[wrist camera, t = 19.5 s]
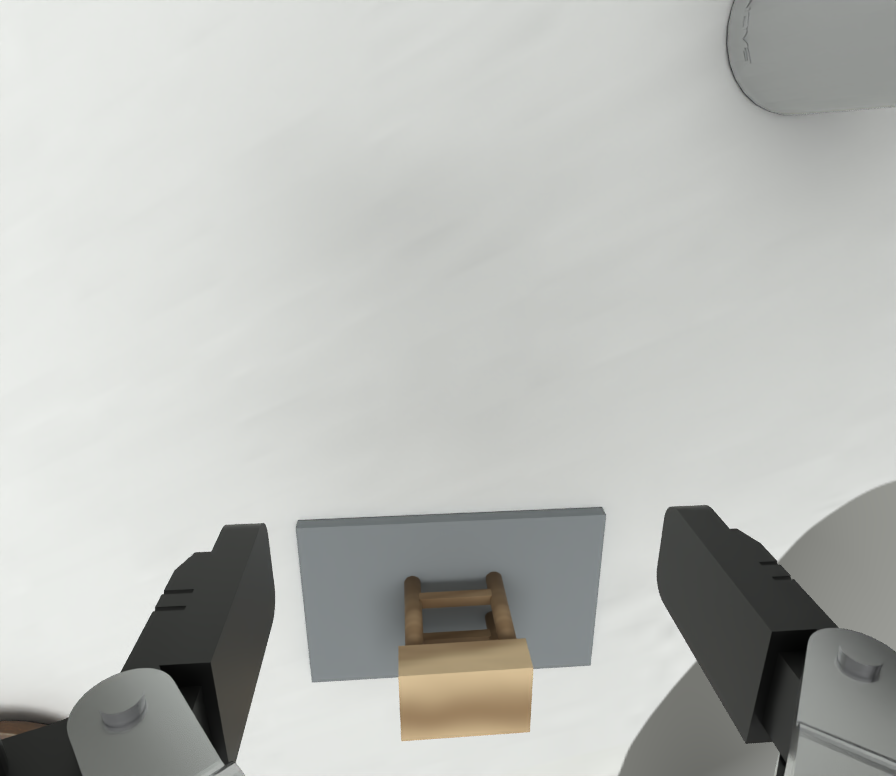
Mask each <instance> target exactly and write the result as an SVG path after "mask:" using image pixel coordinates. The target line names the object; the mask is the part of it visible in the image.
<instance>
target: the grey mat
mask: <svg viewBox="0 0 896 776" xmlns="http://www.w3.org/2000/svg"><path fill="white" fill-rule="evenodd" d="M605 520H606V514H605V512H604V510H603V509H602V507H599V508H576V509H552V510H529V511H506V512H483V513H460V514H437V515H413V516H390V517H367V518H344V519H321V520H298V522H297V526H296V534H297V544H298V553H299V563H300V573H301V582H302V592H303V601H304V611H305V620H306V630H307V639H308V649H309V658H310V668H311V677H312V682H328V681H344V680H360V679H377V678H393V677H399V676H398V646H405V603H404V581H405V579H406V578H407V577H410V576H416V577H418V578H419V579H420V581H421V593H426V592H444V591H462V590H480V589H487V584H486V576H487V574H489V573H490V572H498V573H500V574H501V576H502V581H503V585H504V589H505V593H506V597H507V601H508V605H509V609H510V613H511V617H512V622H513V626H514V630H515V634H516V638H517V639H521V638H526V642H527V646H528V650H529V653H530V657H531V661H532V665H533V669H540V668H557V667H573V666H589V665H591V655H592V646H593V636H594V626H595V617H596V607H597V597H598V587H599V578H600V568H601V558H602V549H603V539H604V529H605ZM490 611H492V608H491V605H478V606H460V607H443V608H426V609H422V618H423V633H433V632H450V631H466V630H483V629H487V627H486V622H485V615H486V614H487V613H488V612H490Z"/></svg>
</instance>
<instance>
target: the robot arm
mask: <svg viewBox="0 0 896 776" xmlns="http://www.w3.org/2000/svg"><path fill="white" fill-rule="evenodd" d="M727 46H728V54H729V61H730V65H731V68H732V71H733V73H734V76H735V79H736V81H737V82H738V84H739V85H740V87H741V89H742V90H743V92H744V93H745V94H746V95H747V96H748V97H749V98H750V99H751V100H752V101H753V102H754V103H755V104H757V105H759V106H760V107H762V108H764V109H766V110H768V111H770V112H774V113H778V114H782V115H803V114H814V113H826V112H840V111H852V110H863V109H875V108H886V107H896V0H735V1H734V4H733V7H732V11H731V15H730V20H729V24H728V40H727ZM657 584H658V589H659V593H660V596H661V599H662V601H663V603H664V605H665V607H666V608H667V610H668V612H669V614H670V615H671V617H672V619H673V620H674V622H675V624H676V625H677V627H678V629H679V631H680V632H681V634H682V636H683V637H684V639H685V641H686V643H687V644H688V646H689V648H690V649H691V651H692V653H693V654H694V656H695V658H696V660H697V661H698V663H699V665H700V666H701V668H702V670H703V672H704V673H705V675H706V677H707V678H708V680H709V682H710V683H711V685H712V687H713V689H714V690H715V692H716V694H717V695H718V697H719V698H720V700H721V702H722V704H723V706H724V707H725V709H726V711H727V712H728V714H729V716H730V718H731V719H732V721H733V722H734V724H735V726H736V727H737V729H738V731H739V733H740V735H741V736H742V738H743V740H744V741H745V743H746V744H748V743H762V742H773V743H774V744H775V746H776V747H777V749H778V751H779V756H778V759H777V763H776V767H775V773H774V776H896V652H895V651H894V650H892V649H891V648H890V647H888V646H887V645H885V644H884V643H882V642H880V641H878V640H876V639H874V638H872V637H870V636H867V635H865V634H862V633H860V632H856V631H852V630H848V629H842V628H838V627H837V625H836V624H835V623H834V622H833V621H832V620H831V619H830V618H829V617H828V616H827V615H826V614H825V612H824V611H823V610H822V609H821V608H820V607H819V606H818V605H817V604H816V603H815V602H814V601H813V599H812V598H811V597H810V596H809V595H808V594H807V593H806V592H805V591H804V590H803V589H802V588H801V586H800V585H799V584H798V583H797V582H796V581H795V580H794V579H792V580H791V577H790V575H789V573H788V572H787V571H786V570H785V569H784V568H783V567H782V566H781V565H778V564H777V560H776V559H775V558H774V557H773V556H772V555H771V554H770V553H769V552H768V551H767V550H766V549H765V547H764V546H763V545H762V544H761V543H759V542H758V541H756V540H754V539H753V538H751V537H749V536H748V535H746V534H745V533H743V532H741V531H740V530H738V529H729V528H728V526H727V525H726V524H725V523H724V522H723V521H722V520H721V518H720V517H719V516H718V515H717V514H716V513H715V512H714V510H713V509H712V508H711V507H709V506H707V505H698V506H675V507H669V508H668V509H667V511H666V513H665V517H664V524H663V531H662V538H661V545H660V552H659V559H658V566H657ZM274 610H275V588H274V579H273V571H272V563H271V555H270V547H269V539H268V532H267V528H266V525H265V524H264V523H258V524H235V525H225V526H224V527H223V528H222V530H221V532H220V534H219V536H218V539H217V541H216V543H215V545H214V547H213V549H212V552H196V553H194V554H193V555H192V556H191V557H189V558H188V559H187V560H186V561H185V562H184V563H183V564H181V565H180V566H179V567H178V568H177V569H176V570H175V571H174V573H173V574H172V576H171V578H170V580H169V582H168V584H167V586H166V588H165V590H164V594H162V595H161V597H160V599H159V601H158V603H157V605H156V607H155V611H154V612H152V614H151V616H150V618H149V620H148V622H147V624H146V625H145V627H144V629H143V631H142V633H141V635H140V637H139V639H138V640H137V642H136V644H135V646H134V648H133V650H132V652H131V654H130V656H129V657H128V659H127V661H126V663H125V665H124V667H123V669H122V671H121V673H118V674H116V675H113V676H111V677H109V678H107V679H105V680H103V681H102V682H100V683H98V684H97V685H96V686H94V687H93V688H91V689H90V690H89V691H88V692H87V693H85V694H84V695H83V696H82V698H81V699H80V700H79V701H78V702H77V703H76V705H75V706H74V707H73V709H72V711H71V713H70V715H69V717H68V718H66V719H64V720H61V721H58V722H56V723H53V724H50V725H46V726H43V727H40V728H37V729H34V730H30V731H27V732H24V733H21V734H17V735H14V736H11V737H8V738H4V739H1V738H0V776H245V775H244V773H243V772H242V770H241V769H240V767H239V766H238V765H237V764H236V759H237V755H238V751H239V748H240V744H241V740H242V736H243V732H244V729H245V725H246V721H247V717H248V714H249V710H250V706H251V702H252V698H253V695H254V691H255V687H256V683H257V680H258V676H259V672H260V668H261V664H262V661H263V657H264V653H265V649H266V646H267V642H268V638H269V634H270V630H271V627H272V623H273V618H274Z"/></svg>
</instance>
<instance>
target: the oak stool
mask: <svg viewBox="0 0 896 776" xmlns="http://www.w3.org/2000/svg"><path fill="white" fill-rule="evenodd" d="M486 584H487V589H480V590H462V591H444V592H426V593H421V581H420V579H419V578H418V577H416V576H410V577H407V578H406V579H405V581H404V603H405V646H398V676H399V698H400V720H401V741H411V740H425V739H439V738H453V737H467V736H481V735H495V734H509V733H523V732H530V718H531V700H532V682H533V665H532V661H531V657H530V653H529V650H528V646H527V642H526V638H521V639H517V638H516V634H515V630H514V626H513V622H512V617H511V613H510V609H509V605H508V601H507V597H506V593H505V589H504V585H503V581H502V576H501V574H500V573H498V572H490V573H489V574H487V576H486ZM478 605H491V608H492V611H490V612H488V613H487V614H486V615H485V622H486V627H487V629H483V630H466V631H450V632H433V633H423V618H422V609H426V608H443V607H460V606H478Z"/></svg>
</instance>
